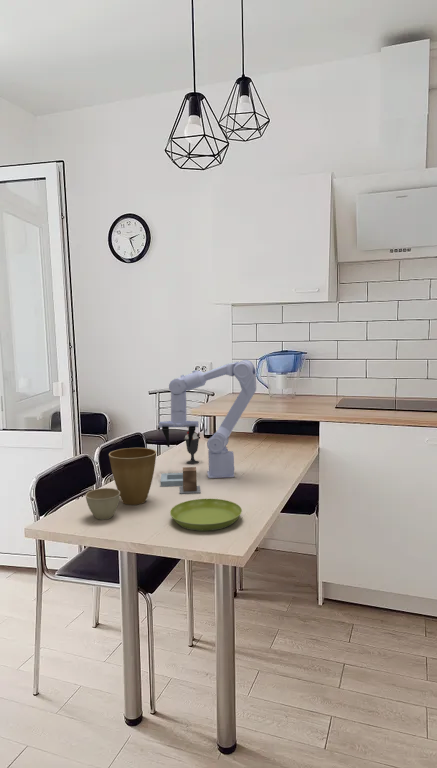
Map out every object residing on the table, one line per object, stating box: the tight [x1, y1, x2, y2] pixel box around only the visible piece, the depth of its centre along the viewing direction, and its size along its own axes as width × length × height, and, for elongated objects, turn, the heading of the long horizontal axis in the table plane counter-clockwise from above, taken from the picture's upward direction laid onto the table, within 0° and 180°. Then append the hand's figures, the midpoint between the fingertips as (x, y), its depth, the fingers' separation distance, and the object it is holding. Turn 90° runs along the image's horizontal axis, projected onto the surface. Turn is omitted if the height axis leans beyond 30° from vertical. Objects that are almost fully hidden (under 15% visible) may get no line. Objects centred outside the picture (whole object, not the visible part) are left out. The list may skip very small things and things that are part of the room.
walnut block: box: [182, 466, 198, 491], centre depth 189 cm, size 4×4×7 cm
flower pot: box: [85, 487, 121, 521], centre depth 165 cm, size 10×10×7 cm
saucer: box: [169, 498, 243, 532], centre depth 162 cm, size 21×21×3 cm
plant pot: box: [108, 447, 157, 506], centre depth 178 cm, size 15×15×16 cm
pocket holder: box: [160, 472, 183, 487], centre depth 199 cm, size 10×10×2 cm
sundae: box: [183, 427, 201, 465], centre depth 224 cm, size 7×7×15 cm
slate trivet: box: [178, 485, 202, 495], centre depth 189 cm, size 7×7×1 cm
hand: (178, 446), depth 209 cm, fingers open, 7 cm apart
